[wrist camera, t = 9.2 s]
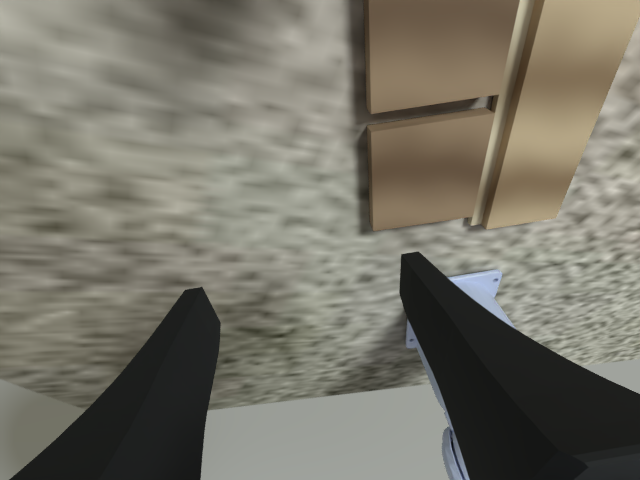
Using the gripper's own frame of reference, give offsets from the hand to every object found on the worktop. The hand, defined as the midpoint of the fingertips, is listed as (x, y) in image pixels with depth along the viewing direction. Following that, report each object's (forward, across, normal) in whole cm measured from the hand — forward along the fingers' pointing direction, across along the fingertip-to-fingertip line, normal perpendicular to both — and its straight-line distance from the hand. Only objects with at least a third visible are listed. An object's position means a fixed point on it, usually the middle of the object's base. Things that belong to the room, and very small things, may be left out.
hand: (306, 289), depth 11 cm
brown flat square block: (+10, -8, +1) cm, 13 cm away
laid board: (+10, -16, -2) cm, 19 cm away
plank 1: (+10, -8, -6) cm, 15 cm away
